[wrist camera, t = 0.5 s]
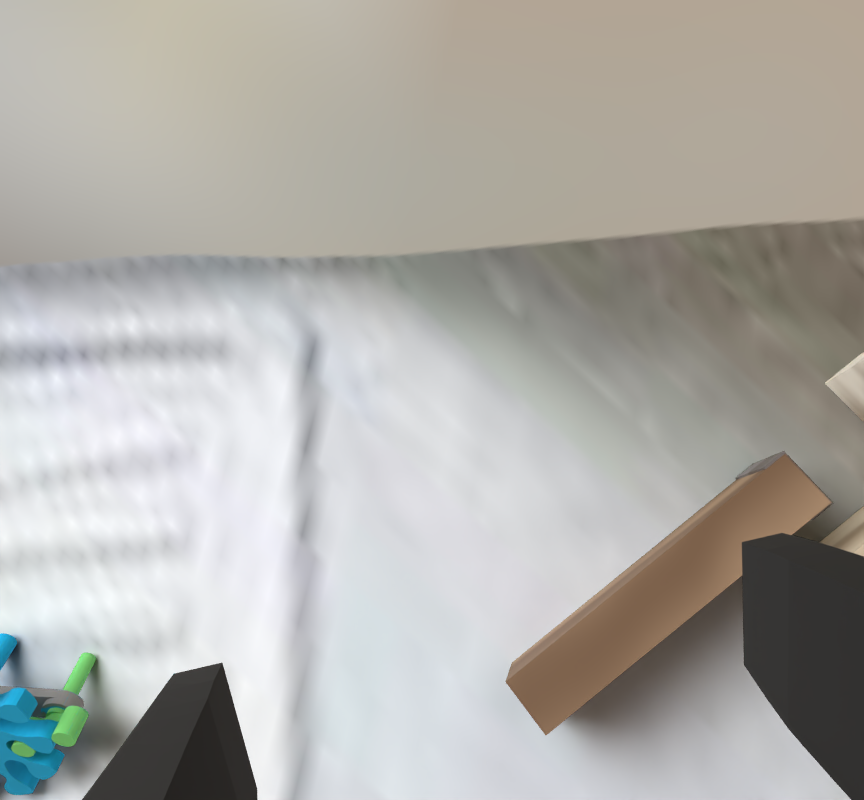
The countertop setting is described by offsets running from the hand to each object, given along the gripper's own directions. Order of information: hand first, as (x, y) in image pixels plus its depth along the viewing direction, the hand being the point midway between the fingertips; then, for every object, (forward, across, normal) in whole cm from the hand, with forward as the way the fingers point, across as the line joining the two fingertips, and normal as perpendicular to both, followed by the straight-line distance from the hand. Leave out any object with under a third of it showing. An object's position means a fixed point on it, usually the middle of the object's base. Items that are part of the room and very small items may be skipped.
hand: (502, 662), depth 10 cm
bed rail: (+19, -11, +13) cm, 25 cm away
